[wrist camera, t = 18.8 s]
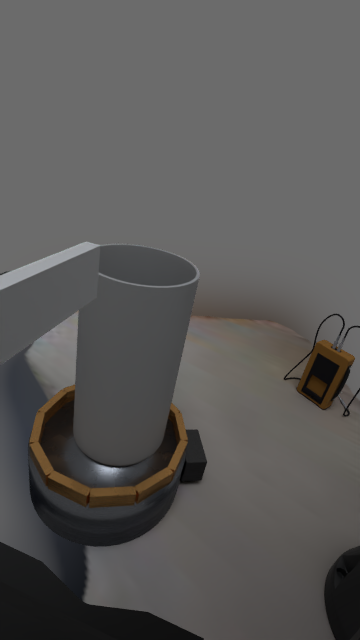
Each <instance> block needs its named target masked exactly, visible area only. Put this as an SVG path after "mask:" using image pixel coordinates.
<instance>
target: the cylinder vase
mask: <svg viewBox="0 0 360 640" xmlns="http://www.w3.org/2000/svg"><path fill="white" fill-rule="evenodd" d="M199 276H200V272H199V270H198V268H197V267H196V266H195V265H194V264H193V263H191V262H190V261H189V260H187V259H185V258H183V257H181V256H179V255H176V254H174V253H171V252H168V251H164V250H161V249H157V248H152V247H147V246H141V245H132V244H106V245H100V259H99V274H98V288H97V298H95V299H94V300H92V301H91V302H90V303H88V304H87V305H85V306H84V307H82V308H81V309H80V310H79V317H78V338H77V359H76V380H75V401H74V422H73V434H74V438H75V441H76V443H77V445H78V447H79V448H80V449H81V450H82V452H83V453H84V454H86V455H87V456H88V457H90V458H91V459H93V460H95V461H97V462H99V463H102V464H106V465H111V466H127V465H132V464H136V463H139V462H141V461H143V460H145V459H147V458H149V457H150V456H151V455H152V454H154V453H155V452H156V450H157V449H158V448H159V446H160V445H161V443H162V441H163V438H164V433H165V429H166V424H167V420H168V415H169V411H170V406H171V402H172V397H173V393H174V388H175V384H176V379H177V375H178V370H179V366H180V361H181V357H182V352H183V348H184V343H185V339H186V335H187V330H188V326H189V321H190V317H191V312H192V307H193V303H194V299H195V294H196V290H197V285H198V280H199Z"/></svg>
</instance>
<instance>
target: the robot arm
mask: <svg viewBox="0 0 360 640" xmlns="http://www.w3.org/2000/svg"><path fill="white" fill-rule="evenodd" d="M99 259H100V245H97V244H93V243H90V242H84V243H81V244H79V245H76V246H74V247H71V248H68V249H66V250H63V251H61V252H58V253H56V254H53V255H51V256H48V257H46V258H44V259H41V260H38V261H36V262H33V263H30V264H28V265H25V266H23V267H20V268H18V269H15V270H13V271H8V272H4V273H2V274H0V365H1V364H3V363H4V362H5V361H7V360H8V359H10V358H11V357H13V356H14V355H16V354H17V353H18V352H20V351H21V350H22V349H24V348H25V347H27V346H28V345H30V344H31V343H33V342H34V341H35V340H37V339H38V338H40V337H41V336H43V335H44V334H45V333H47V332H48V331H50V330H51V329H53V328H54V327H55V326H57V325H58V324H60V323H61V322H63V321H64V320H65V319H67V318H68V317H70V316H71V315H72V314H74V313H75V312H77V311H78V310H80V309H81V308H82V307H84V306H85V305H87V304H88V303H90V302H91V301H92V300H94V299H95V298H97V288H98V274H99ZM325 603H326V609H327V614H328V618H329V621H330V625H331V627H332V630H333V633H334V635H335V637H336V640H360V546H358V547H355V548H352V549H349V550H348V551H346V552H345V553H343V554H342V555H341V556H340V557H339V558H338V559H337V561H336V562H335V563H334V565H333V566H332V567H331V569H330V571H329V573H328V575H327V579H326V584H325ZM0 640H204V639H203V638H201V637H199V636H197V635H195V634H193V633H191V632H189V631H187V630H185V629H182V628H180V627H178V626H176V625H174V624H172V623H170V622H168V621H166V620H163V619H161V618H159V617H157V616H155V615H153V614H151V613H149V612H143V611H135V610H127V609H119V608H112V607H104V606H96V605H89V604H86V603H84V602H83V601H81V600H80V599H79V598H78V597H77V596H76V595H75V594H74V593H73V592H72V591H71V590H70V589H69V588H68V587H67V586H66V585H65V584H64V583H63V582H62V581H61V580H60V579H59V578H58V577H57V576H56V575H55V574H54V573H53V572H52V571H51V570H50V569H49V568H48V567H47V566H46V565H45V564H44V563H43V562H41V561H39V560H37V559H35V558H33V557H31V556H29V555H27V554H25V553H22V552H20V551H18V550H16V549H14V548H12V547H10V546H8V545H6V544H4V543H1V542H0Z"/></svg>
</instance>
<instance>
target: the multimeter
mask: <svg viewBox="0 0 360 640" xmlns="http://www.w3.org/2000/svg"><path fill="white" fill-rule="evenodd" d="M333 315H338V316H340V315H339V314H333ZM333 315H330V316H328V317H327V318H329V317H331V316H333ZM340 317H341V318H342V316H340ZM327 318H326V319H327ZM326 319H325V320H326ZM325 320H324V321H325ZM342 320H343V328H342V330H341V332H340V334H339V336H338V338H337V340H336V341H335V342H334V344H331V343H329V342H328V341H326V340H322V341H319V342H317V343H316V338H317V334H318V331H319V329H320V327H321V325H322V323H323V322H324V321H323V322H322V323H321V324H320V326H319V328H318V330H317V333H316V337H315V341H314V346H313V349H312V351H311V352H310V353H309V354H308V355H307V356H306V357H305V358H307V357H308V356H309V355H310V354H311V353H312V354H311V357H310V359H309V361H308V363H307V366H306V368H305V370H304V373H303V375H302V378H301V379H300V378H286V377H287V375H288V374H289V373H290V372H291V371H292V370H293V369H294V368H296V367H297V366H298V365H299V364H300V363H301V362H302V361H303V360H304V359H305V358H304V359H303V360H302V361H300V362H299V363H298V364H297V365H296V366H295V367H294V368H293V369H292V370H291V371H290V372H289V373H288V374H287V375H286V376H285V377H284V379H285V378H286V379H300V382H299V385H298V387H297V391H298V392H299V393H302V394H303V395H304V396H306V397H307V398H309V399H310V400H311V401H313V402H314V403H316V404H317V405H318V406H319V407H320V408H322V409H326V408H328V407H329V406H331V404H332V402H333V400H334V399H335V397H337V396H339V393H343V392H341V390H342V389H343V387H344V385H345V383H346V380H347V378H348V376H349V373H350V368H351V366H352V364H353V362H354V360H355V358H354V356H353V355H351V354H349V353H347V352H345V351H344V350H342V349H341V348H342V346H343V342H344V340H345V337H346V335H347V333H348V331H349V330H350V329H351V328H353V327H359V328H360V326H353V327H350V328H349V329H348V330H347V332H346V334H345V337H344V338H343V340H342V342H341V343H340V345H339V347H337V344H338V340H339V338H340V335H341V333H342V331H343V329H344V326H345V323H344V319H343V318H342ZM315 343H316V345H315ZM286 379H285V380H286ZM359 391H360V388H359V390H358V391H357V393H356V394H355V396H354V397H353V399H352V400H351V402H350V403H349V404H348V406H346V405H345V403H344V401H343V400H342V399H341V398H340V396H339V398H340V399H341V402H342V404H343V406H344V407H345V411H344V413H343V415H344V416H349V414H350V413H349V410H348V407H349V406H350V404H351V403H352V401H353V400H354V398H355V397H356V395H357V394H358V393H359ZM346 410H347V411H348V415H345V412H346Z"/></svg>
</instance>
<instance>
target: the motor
mask: <svg viewBox="0 0 360 640" xmlns="http://www.w3.org/2000/svg"><path fill="white" fill-rule="evenodd" d="M74 401H75V385H73V386H70V387H66V388H64V389H63V390H60V391H59V392H58V393H57V394H56V395H55V396H54V397H53V398H52V399H50V400H49V401H48V402H47V403H46V404H45V405H44V406H43V407H42V408H40V409H39V410H38V412H37V414H36V418H35V422H34V426H33V429H32V432H31V435H30V438H29V444H28V461H29V482H30V494H31V500H32V503H33V505H34V508H35V510H36V512H37V514H38V515H39V517H40V518H41V520H42V521H43V522H44V523H45V524H46V526H48V527H49V528H50V529H51V530H52V531H53V532H55V533H56V534H58V535H59V536H61V537H63V538H65V539H67V540H69V541H72V542H75V543H79V544H82V545H88V546H111V545H117V544H121V543H125V542H128V541H131V540H133V539H135V538H137V537H140V536H141V535H143V534H145V533H146V532H148V531H149V530H151V529H152V528H153V527H154V526H155V525H157V524H158V523H159V521H160V520H161V519H162V518H163V517H164V516H165V514H166V513H167V512H168V510H169V509H170V507H171V505H172V503H173V500H174V497H175V494H176V491H177V488H178V484H179V480H180V477H181V481H197V480H201V479H202V476H203V473H204V470H205V467H206V464H207V460H206V457H205V453H204V450H203V446H202V443H201V439H200V436H199V432H198V430H185V426H184V422H183V418H182V414H181V413H180V411H179V410H178V409H177V408H176V407H175V406H174V405H173V404H172V403H171V406H170V411H169V415H168V420H167V424H166V429H165V433H164V438H163V441H162V443H161V445H160V446H159V448H158V449H157V450H156V452H155V453H154V454H152V455H151V456H150V457H149V458H147V459H145V460H143V461H141V462H139V463H136V464H132V465H127V466H111V465H106V464H102V463H99V462H97V461H95V460H93V459H91V458H90V457H88V456H87V455H86V454H84V453H83V452H82V450H81V449H80V448H79V447H78V445H77V443H76V441H75V438H74V434H73V422H74Z"/></svg>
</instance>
